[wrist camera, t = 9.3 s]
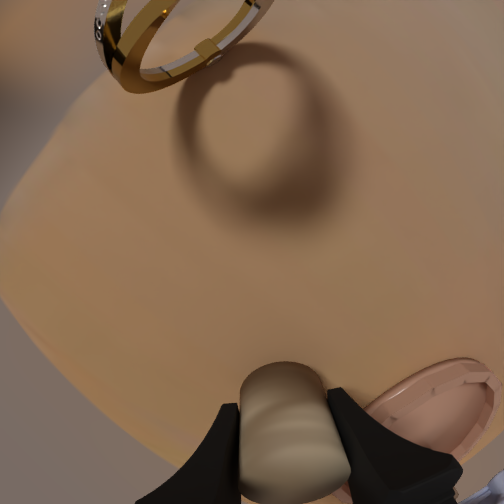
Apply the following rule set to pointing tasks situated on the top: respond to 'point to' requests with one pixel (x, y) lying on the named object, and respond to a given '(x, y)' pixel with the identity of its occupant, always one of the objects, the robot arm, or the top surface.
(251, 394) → the beige tall rounded piece
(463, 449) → the dish
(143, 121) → the top surface
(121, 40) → the ring
